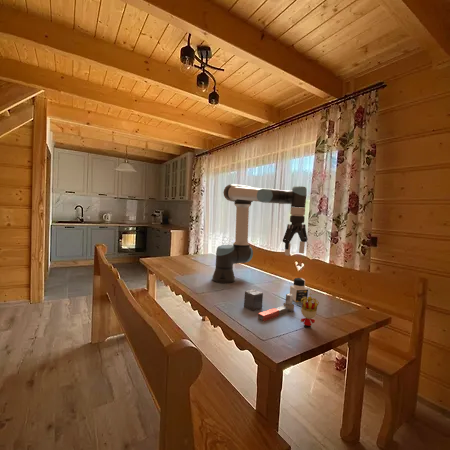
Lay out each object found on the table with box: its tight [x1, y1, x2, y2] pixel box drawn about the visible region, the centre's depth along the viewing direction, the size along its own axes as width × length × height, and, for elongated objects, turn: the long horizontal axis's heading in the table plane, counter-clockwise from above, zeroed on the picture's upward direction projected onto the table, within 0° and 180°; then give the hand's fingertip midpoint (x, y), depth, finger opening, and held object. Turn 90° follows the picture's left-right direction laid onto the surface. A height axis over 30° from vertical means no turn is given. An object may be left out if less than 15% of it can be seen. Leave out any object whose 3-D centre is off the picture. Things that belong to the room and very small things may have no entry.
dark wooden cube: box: [243, 288, 264, 312], centre depth 130 cm, size 6×6×8 cm
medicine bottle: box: [289, 277, 309, 303], centre depth 144 cm, size 7×7×12 cm
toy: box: [299, 292, 320, 329], centre depth 111 cm, size 7×7×15 cm
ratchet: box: [257, 293, 295, 322], centre depth 123 cm, size 23×5×8 cm, turn 130°
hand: (294, 254), depth 141 cm, fingers open, 13 cm apart
